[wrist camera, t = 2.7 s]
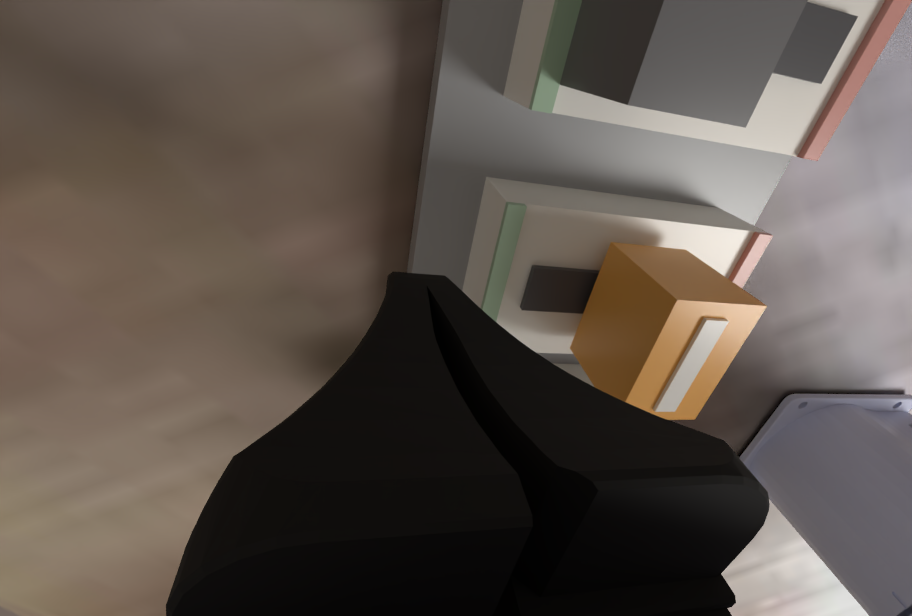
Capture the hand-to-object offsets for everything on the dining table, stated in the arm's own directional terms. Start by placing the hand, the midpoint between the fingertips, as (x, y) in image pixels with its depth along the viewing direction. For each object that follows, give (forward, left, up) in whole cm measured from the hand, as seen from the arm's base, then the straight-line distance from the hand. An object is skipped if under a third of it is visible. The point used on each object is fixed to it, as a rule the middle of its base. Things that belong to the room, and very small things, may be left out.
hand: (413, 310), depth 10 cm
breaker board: (-6, +4, -5) cm, 9 cm away
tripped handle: (-6, 0, -1) cm, 6 cm away
